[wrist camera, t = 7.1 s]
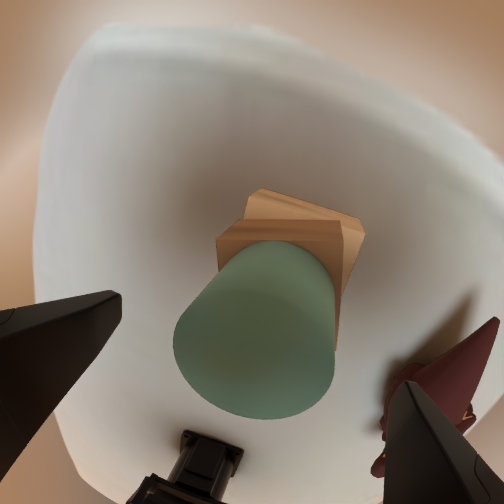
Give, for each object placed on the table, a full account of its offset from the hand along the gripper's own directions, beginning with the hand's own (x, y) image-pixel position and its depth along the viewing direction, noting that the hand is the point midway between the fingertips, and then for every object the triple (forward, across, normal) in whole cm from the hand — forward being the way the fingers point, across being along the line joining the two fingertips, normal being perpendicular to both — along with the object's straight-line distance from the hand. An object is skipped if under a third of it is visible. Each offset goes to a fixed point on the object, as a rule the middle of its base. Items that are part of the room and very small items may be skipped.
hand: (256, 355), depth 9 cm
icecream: (+11, -12, +7) cm, 18 cm away
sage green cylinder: (+4, 0, 0) cm, 4 cm away
